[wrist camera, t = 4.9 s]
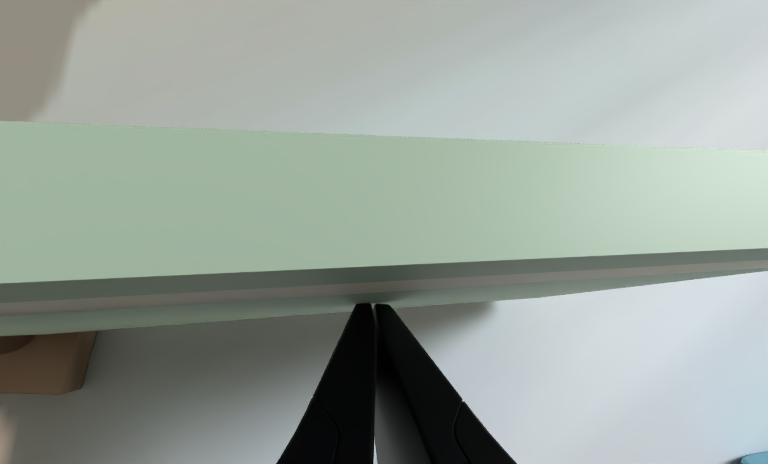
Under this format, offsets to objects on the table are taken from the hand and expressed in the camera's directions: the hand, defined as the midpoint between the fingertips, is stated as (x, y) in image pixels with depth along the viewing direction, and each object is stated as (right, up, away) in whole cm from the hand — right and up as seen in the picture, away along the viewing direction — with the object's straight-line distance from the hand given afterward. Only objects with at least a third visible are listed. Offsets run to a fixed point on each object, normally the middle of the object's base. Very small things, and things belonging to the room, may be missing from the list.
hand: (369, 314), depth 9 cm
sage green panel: (-2, 0, +6) cm, 7 cm away
